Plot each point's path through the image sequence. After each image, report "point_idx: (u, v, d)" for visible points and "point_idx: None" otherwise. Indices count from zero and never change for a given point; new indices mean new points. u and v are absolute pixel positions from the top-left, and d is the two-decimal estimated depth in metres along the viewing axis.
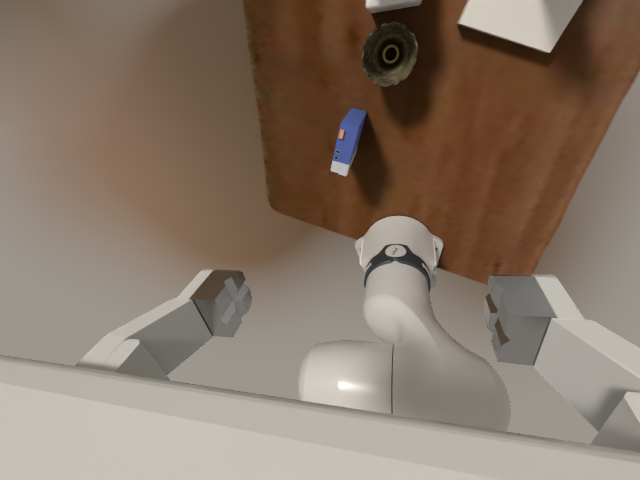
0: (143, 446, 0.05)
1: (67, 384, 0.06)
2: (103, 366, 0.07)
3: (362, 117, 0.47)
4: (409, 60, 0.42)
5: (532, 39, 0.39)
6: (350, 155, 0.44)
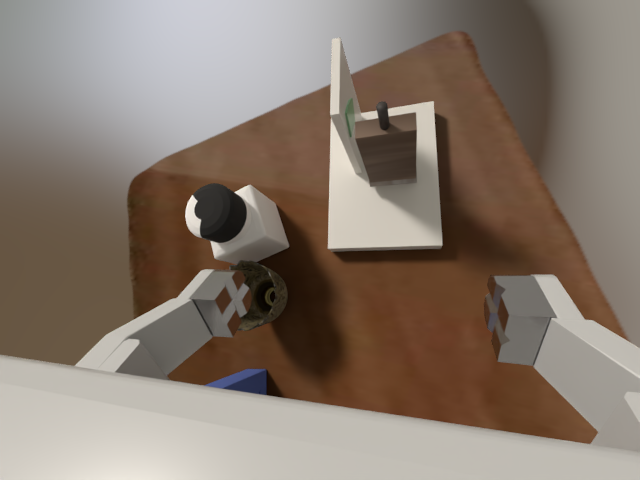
0: (143, 446, 0.05)
1: (67, 384, 0.06)
2: (103, 367, 0.07)
3: (242, 379, 0.32)
4: None
5: (413, 239, 0.32)
6: None
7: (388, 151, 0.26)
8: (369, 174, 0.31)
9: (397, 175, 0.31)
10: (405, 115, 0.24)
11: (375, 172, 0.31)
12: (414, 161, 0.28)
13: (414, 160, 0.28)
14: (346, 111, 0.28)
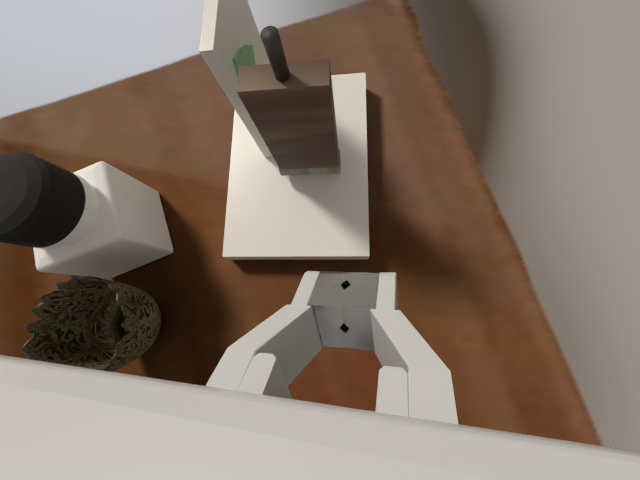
0: (143, 446, 0.05)
1: (67, 384, 0.06)
2: (244, 387, 0.06)
3: None
4: None
5: (334, 248, 0.25)
6: None
7: (294, 121, 0.18)
8: (275, 157, 0.23)
9: (314, 161, 0.23)
10: (313, 62, 0.15)
11: (282, 153, 0.22)
12: (333, 141, 0.20)
13: (333, 139, 0.20)
14: (235, 56, 0.18)
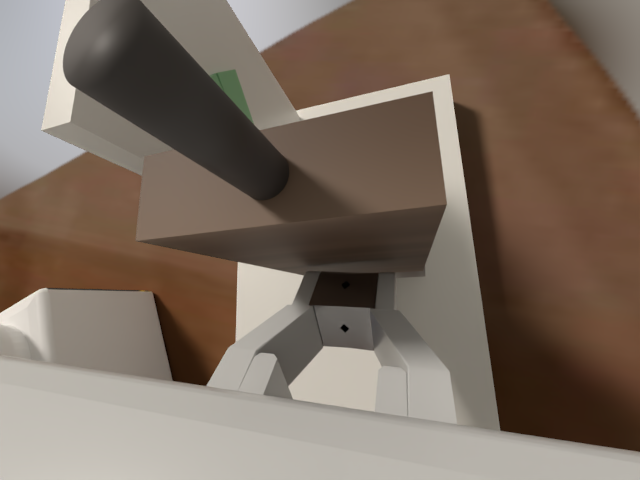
0: (143, 446, 0.05)
1: (67, 384, 0.06)
2: (245, 388, 0.06)
3: None
4: None
5: None
6: None
7: (325, 252, 0.07)
8: (300, 273, 0.12)
9: (374, 271, 0.12)
10: (371, 114, 0.04)
11: None
12: (421, 259, 0.09)
13: (421, 258, 0.08)
14: None
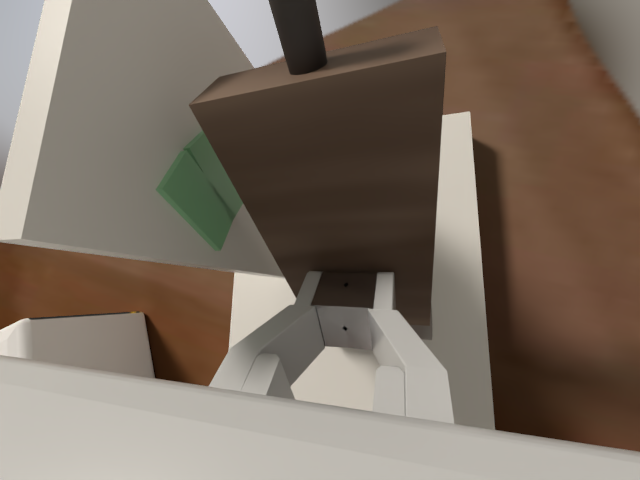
0: (143, 446, 0.05)
1: (67, 384, 0.06)
2: (248, 388, 0.06)
3: None
4: None
5: None
6: None
7: (335, 200, 0.07)
8: (298, 292, 0.11)
9: None
10: (393, 38, 0.06)
11: None
12: (427, 261, 0.08)
13: (427, 257, 0.08)
14: (166, 179, 0.07)
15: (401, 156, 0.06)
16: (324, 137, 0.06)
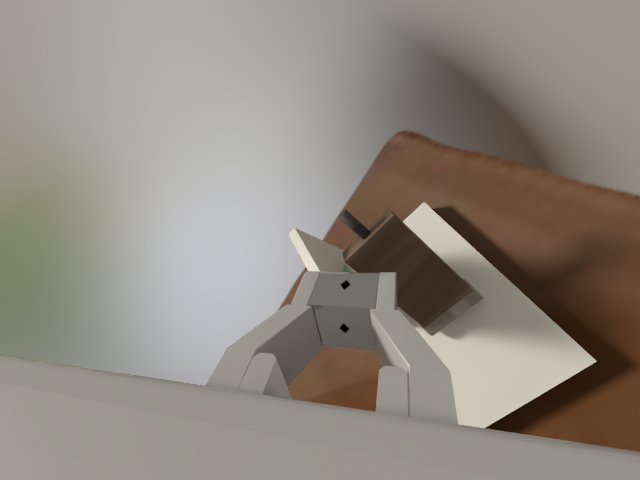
0: (143, 446, 0.05)
1: (67, 384, 0.06)
2: (244, 387, 0.06)
3: None
4: None
5: (547, 375, 0.21)
6: None
7: (395, 261, 0.22)
8: (409, 312, 0.24)
9: (444, 297, 0.23)
10: (380, 216, 0.22)
11: (412, 304, 0.23)
12: (439, 261, 0.22)
13: (438, 260, 0.22)
14: None
15: (402, 238, 0.21)
16: (381, 247, 0.21)
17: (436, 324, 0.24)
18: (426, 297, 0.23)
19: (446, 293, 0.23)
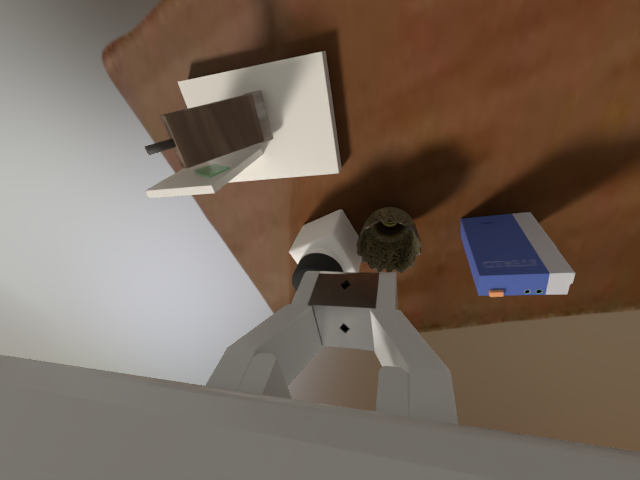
0: (143, 446, 0.05)
1: (67, 384, 0.06)
2: (244, 387, 0.06)
3: (467, 241, 0.34)
4: None
5: (319, 85, 0.31)
6: (530, 275, 0.27)
7: (203, 133, 0.29)
8: (248, 144, 0.32)
9: (247, 115, 0.31)
10: (163, 124, 0.28)
11: (242, 139, 0.32)
12: (218, 104, 0.29)
13: (216, 104, 0.29)
14: (207, 176, 0.30)
15: (186, 119, 0.28)
16: (186, 137, 0.28)
17: (265, 131, 0.33)
18: (242, 127, 0.31)
19: (245, 112, 0.31)
